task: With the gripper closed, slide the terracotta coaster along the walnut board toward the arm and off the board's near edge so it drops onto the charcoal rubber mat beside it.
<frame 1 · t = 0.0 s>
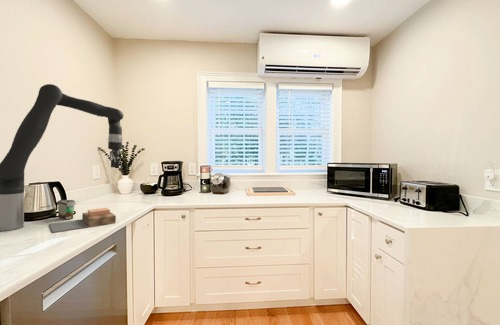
hand: (114, 167, 143), 29 cm above the countertop, tool pointing down, fingers open, 8 cm apart
food container: (68, 218, 132), on the countertop
mat: (68, 226, 117), on the countertop
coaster: (98, 214, 126), point 4 cm above the countertop, touching board
board: (98, 221, 126), on the countertop
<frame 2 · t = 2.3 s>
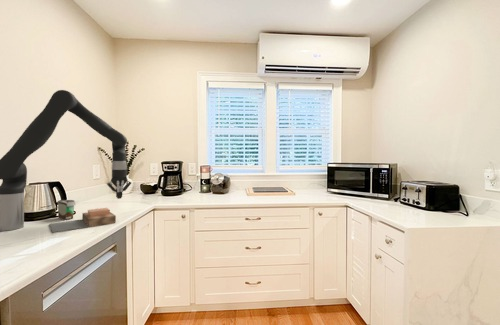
hand: (119, 198, 133), 12 cm above the countertop, tool pointing down, fingers closed
nothing on the countertop moved.
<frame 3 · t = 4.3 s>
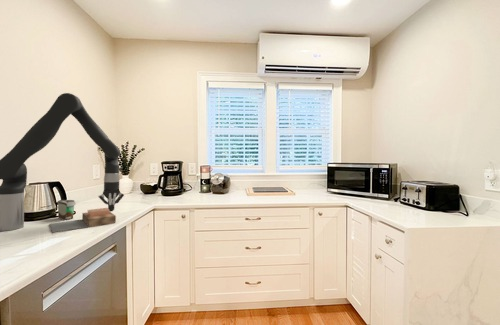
hand: (111, 211, 131), 5 cm above the countertop, tool pointing down, fingers closed
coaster: (98, 214, 126), point 4 cm above the countertop, touching gripper
everything else where it was.
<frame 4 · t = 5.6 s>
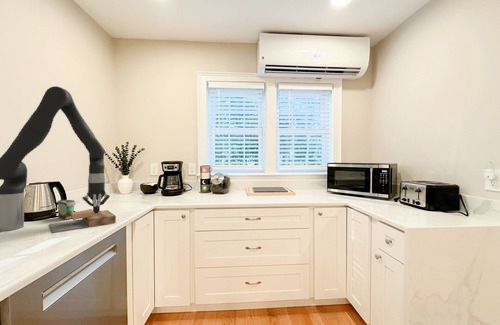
hand: (96, 212, 125), 5 cm above the countertop, tool pointing down, fingers closed
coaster: (82, 216, 121), point 4 cm above the countertop, tilted 6°, touching board, gripper
everything else where it was.
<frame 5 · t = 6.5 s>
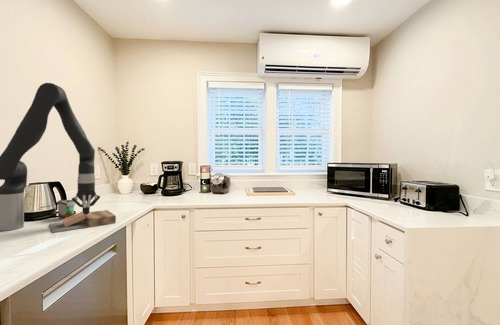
hand: (86, 214, 122), 5 cm above the countertop, tool pointing down, fingers closed
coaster: (74, 221, 118), point 2 cm above the countertop, tilted 20°, touching gripper
everything else where it was.
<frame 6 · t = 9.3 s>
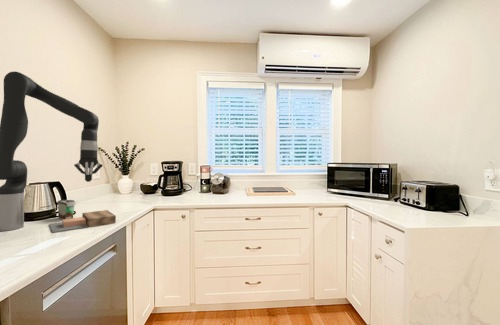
hand: (88, 181, 122), 22 cm above the countertop, tool pointing down, fingers closed
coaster: (74, 224, 118), resting on mat
everything else where it was.
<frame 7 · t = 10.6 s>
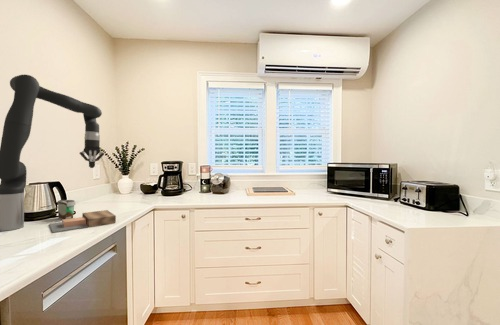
hand: (91, 167, 139), 29 cm above the countertop, tool pointing down, fingers closed
nothing on the countertop moved.
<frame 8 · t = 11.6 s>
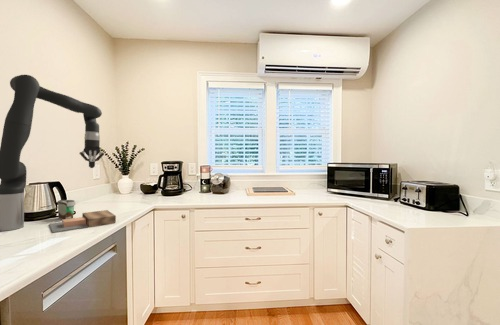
hand: (91, 167, 139), 29 cm above the countertop, tool pointing down, fingers closed
nothing on the countertop moved.
at the end: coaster inside the target area (2.4 cm from its centre), point 0.5 cm above the countertop; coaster touching mat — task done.
